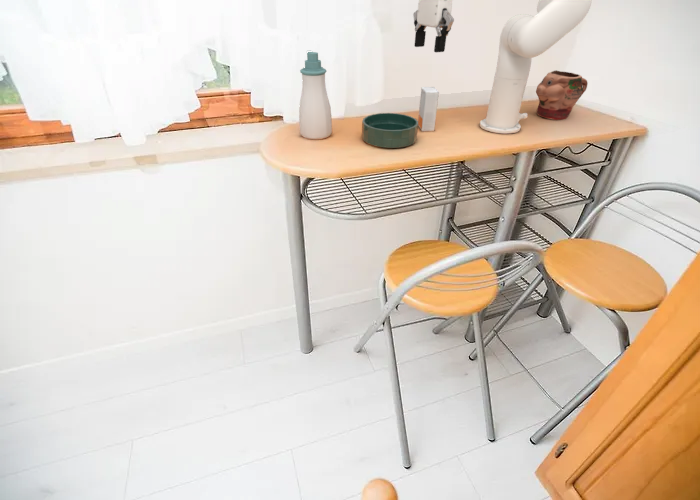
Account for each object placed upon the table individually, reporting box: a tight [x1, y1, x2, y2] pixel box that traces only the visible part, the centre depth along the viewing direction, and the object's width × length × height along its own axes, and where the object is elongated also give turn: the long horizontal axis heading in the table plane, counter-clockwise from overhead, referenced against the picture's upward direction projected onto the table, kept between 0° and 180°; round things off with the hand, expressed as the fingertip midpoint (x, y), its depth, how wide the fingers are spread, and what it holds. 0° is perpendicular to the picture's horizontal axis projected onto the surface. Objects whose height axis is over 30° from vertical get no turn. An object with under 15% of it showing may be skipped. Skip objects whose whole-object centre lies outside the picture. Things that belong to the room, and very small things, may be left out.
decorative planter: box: [535, 70, 589, 121], centre depth 136 cm, size 20×12×14 cm, turn 114°
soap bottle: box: [298, 51, 333, 140], centre depth 115 cm, size 10×10×23 cm
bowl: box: [361, 112, 419, 149], centre depth 118 cm, size 16×16×6 cm
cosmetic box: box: [417, 86, 440, 132], centre depth 124 cm, size 6×4×12 cm
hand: (428, 49), depth 115 cm, fingers open, 9 cm apart
